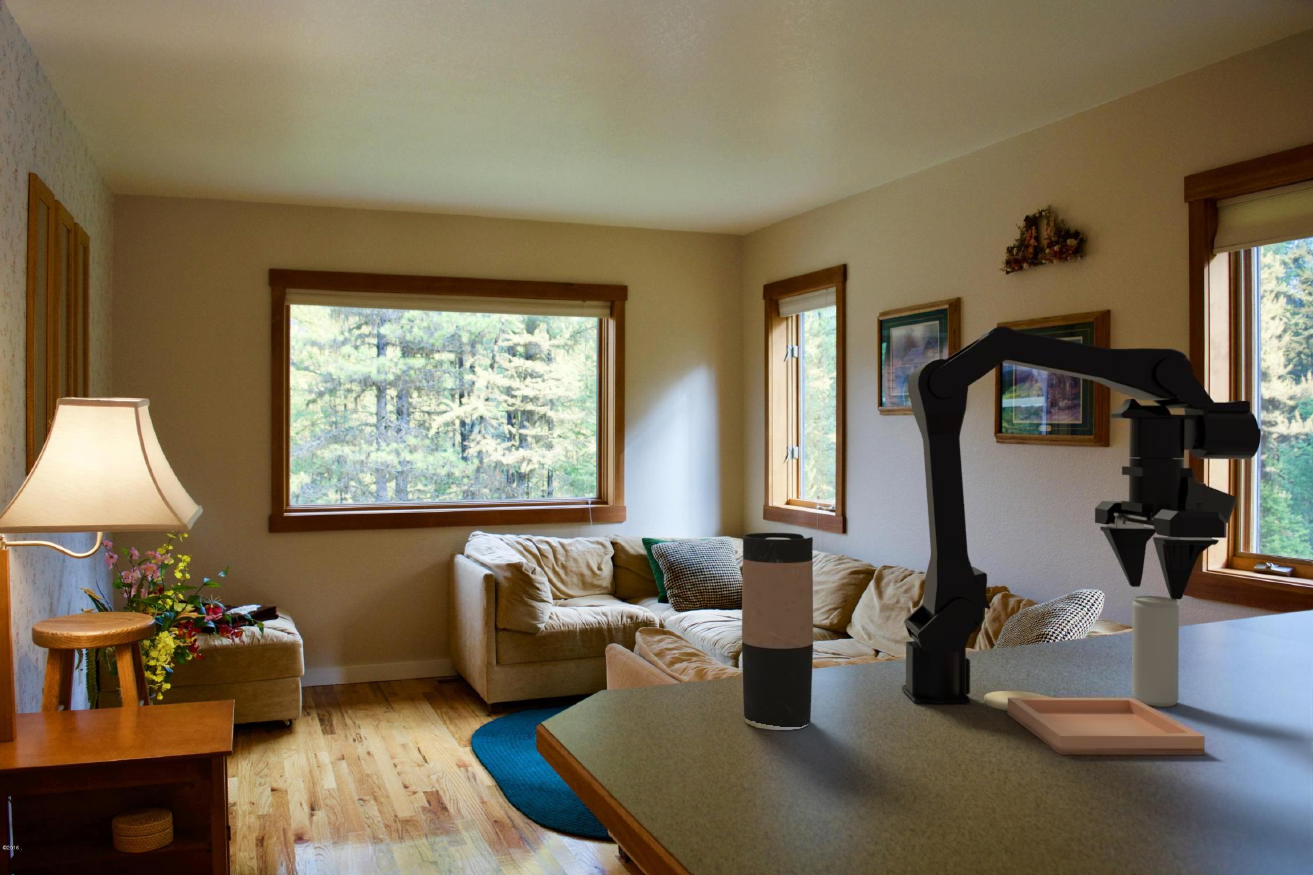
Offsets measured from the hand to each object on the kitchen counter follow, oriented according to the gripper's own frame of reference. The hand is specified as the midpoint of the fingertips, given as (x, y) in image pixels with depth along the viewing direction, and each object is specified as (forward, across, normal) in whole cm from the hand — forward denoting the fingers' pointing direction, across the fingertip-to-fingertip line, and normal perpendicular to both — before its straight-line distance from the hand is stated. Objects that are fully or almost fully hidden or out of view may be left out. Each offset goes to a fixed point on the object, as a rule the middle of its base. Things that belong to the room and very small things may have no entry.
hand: (1154, 592), depth 114 cm
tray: (+13, -12, +12) cm, 21 cm away
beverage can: (+13, 0, 0) cm, 13 cm away
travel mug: (+13, -8, +45) cm, 48 cm away
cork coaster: (+13, -1, +16) cm, 20 cm away
